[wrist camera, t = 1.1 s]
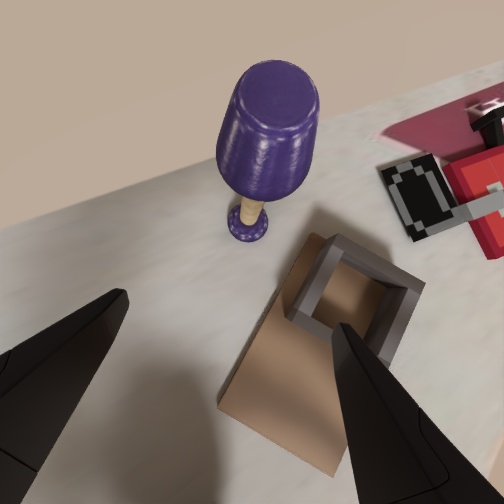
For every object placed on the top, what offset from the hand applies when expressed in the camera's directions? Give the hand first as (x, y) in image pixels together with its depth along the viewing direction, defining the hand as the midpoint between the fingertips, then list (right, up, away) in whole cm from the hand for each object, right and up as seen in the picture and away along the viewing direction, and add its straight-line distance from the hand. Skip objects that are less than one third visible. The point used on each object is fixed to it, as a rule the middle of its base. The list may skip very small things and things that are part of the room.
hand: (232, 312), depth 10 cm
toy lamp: (+1, +5, +14) cm, 16 cm away
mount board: (+8, -7, +13) cm, 16 cm away
